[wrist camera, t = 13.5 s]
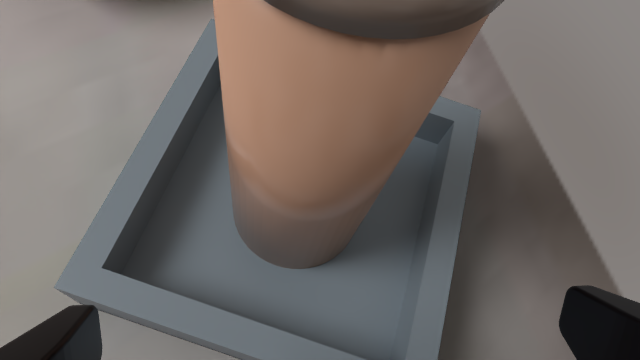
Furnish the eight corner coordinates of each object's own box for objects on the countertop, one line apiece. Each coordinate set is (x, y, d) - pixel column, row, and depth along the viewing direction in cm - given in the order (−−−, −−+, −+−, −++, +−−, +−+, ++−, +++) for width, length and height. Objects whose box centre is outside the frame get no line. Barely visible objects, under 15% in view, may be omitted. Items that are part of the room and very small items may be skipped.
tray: (402, 415, 16) (427, 417, 14) (80, 303, 16) (53, 287, 14) (457, 140, 22) (481, 110, 19) (215, 58, 22) (211, 18, 20)
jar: (304, 300, 17) (426, 64, 5) (201, 210, 18) (106, -165, 6) (385, 203, 19) (606, -121, 7) (290, 128, 20) (347, -269, 8)
